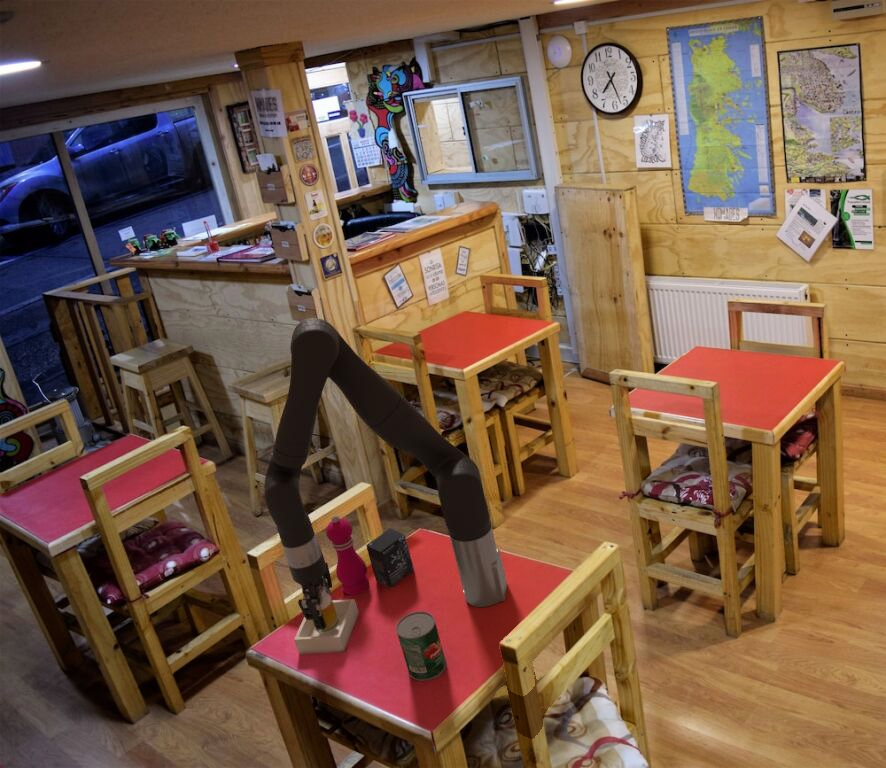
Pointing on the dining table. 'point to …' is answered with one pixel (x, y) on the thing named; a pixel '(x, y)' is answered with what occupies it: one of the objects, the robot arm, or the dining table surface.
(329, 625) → the supplement bottle
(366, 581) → the pepper mill
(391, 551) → the box
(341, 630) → the tub
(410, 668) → the canned tomato
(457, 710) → the dining table surface
